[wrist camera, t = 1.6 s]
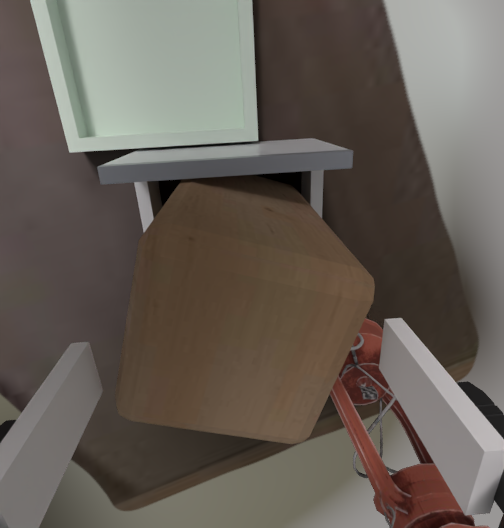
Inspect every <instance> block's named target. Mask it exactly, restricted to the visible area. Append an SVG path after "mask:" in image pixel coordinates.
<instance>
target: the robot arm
mask: <svg viewBox="0 0 504 528" xmlns="http://www.w3.org/2000/svg"><path fill="white" fill-rule="evenodd" d="M379 369H380V371H381V373H382V374H383V376H384V378H385V379H386V381H387V383H388V385H389V386H390V388H391V390H392V391H393V393H394V395H395V397H396V398H397V400H398V402H399V403H400V405H401V407H402V408H403V410H404V412H405V414H406V415H407V417H408V419H409V420H410V422H411V424H412V426H413V427H414V429H415V431H416V432H417V434H418V436H419V438H420V439H421V441H422V443H423V444H424V446H425V448H426V449H427V451H428V453H429V455H430V456H431V458H432V460H433V461H434V463H435V465H436V467H437V468H438V470H439V472H440V473H441V475H442V477H443V479H444V480H445V482H446V484H447V485H448V487H449V489H450V490H451V492H452V494H453V496H454V497H455V499H456V501H457V502H458V504H459V506H460V508H461V509H462V511H463V513H464V514H465V515H475V514H485V513H490V511H491V508H492V505H493V503H494V500H495V502H496V503H497V505H498V506H499V507H500V509H501V510H502V512H503V513H504V415H503V413H502V411H501V410H500V409H499V408H498V407H497V406H495V405H494V403H493V402H492V400H491V399H490V398H489V397H488V396H487V395H486V394H485V393H484V392H483V391H482V390H480V389H479V388H477V387H475V386H474V385H473V384H471V383H470V382H458V383H456V382H455V381H454V380H453V379H452V377H451V376H450V375H449V374H448V373H447V371H446V370H445V369H444V368H443V367H442V365H441V364H440V363H439V362H438V361H437V360H436V358H435V357H434V356H433V355H432V354H431V352H430V351H429V350H428V349H427V348H426V346H425V345H424V344H423V343H422V342H421V341H420V339H419V338H418V337H417V336H416V335H415V333H414V332H413V331H412V330H411V329H410V328H409V326H408V325H407V324H406V323H405V322H404V320H403V319H402V318H393V319H385V320H384V328H383V337H382V345H381V354H380V363H379ZM102 392H103V388H102V385H101V381H100V378H99V375H98V371H97V368H96V364H95V361H94V358H93V354H92V351H91V347H90V344H89V342H81V343H71V344H70V346H69V347H68V348H67V350H66V351H65V353H64V354H63V355H62V357H61V358H60V360H59V361H58V363H57V364H56V365H55V367H54V368H53V370H52V371H51V372H50V374H49V375H48V377H47V378H46V379H45V381H44V382H43V384H42V385H41V386H40V388H39V389H38V391H37V392H36V394H35V395H34V396H33V398H32V399H31V401H30V402H29V403H28V405H27V406H26V408H25V409H24V410H23V412H22V413H21V415H20V416H19V418H18V419H17V420H9V421H5V422H4V423H3V424H2V425H0V528H39V526H40V523H41V521H42V519H43V517H44V515H45V513H46V511H47V509H48V507H49V504H50V502H51V500H52V498H53V496H54V494H55V492H56V489H57V487H58V485H59V483H60V481H61V479H62V476H63V475H64V473H65V470H66V468H67V466H68V464H69V462H70V460H71V458H72V456H73V453H74V451H75V449H76V447H77V445H78V443H79V441H80V439H81V436H82V434H83V432H84V430H85V428H86V426H87V424H88V422H89V419H90V417H91V415H92V413H93V411H94V409H95V407H96V404H97V402H98V400H99V398H100V396H101V394H102ZM498 528H504V514H503V517H502V520H501V522H500V525H499V527H498Z"/></svg>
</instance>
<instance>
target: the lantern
mask: <svg viewBox="0 0 504 528" xmlns="http://www.w3.org/2000/svg"><path fill="white" fill-rule="evenodd" d="M382 337H383V329H382V328H381V327H380V326H379V325H378V324H377V323H376V322H374V321H371V320H369V319H366V318H365V320H364V322H363V324H362V326H361V328H360V330H359V332H358V335H357V337H356V339H355V341H354V343H353V345H352V347H351V349H350V352H349V354H348V356H347V358H346V360H345V362H344V364H343V366H342V369H341V371H340V373H339V375H338V377H337V379H336V381H335V383H334V386H333V388H332V390H331V392H330V395H331V398H332V400H333V402H334V404H335V406H336V408H337V411H338V413H339V415H340V417H341V419H342V422H343V424H344V426H345V428H346V430H347V432H348V434H349V437H350V439H351V441H352V443H353V445H354V448H355V450H356V451H355V453H354V456H353V468H354V469H355V471H356V472H357V474H358V475H359V476H361V477H364V478H369V480H370V482H371V485H372V487H373V489H374V491H375V496H374V504H375V506H376V509H377V511H379V512H380V513H381V514H383V515H384V516H385V519H386V521H387V523H388V525H389V526H390V528H490V527H488V526H475V524H474V519H473V517H472V515H465V514H464V513H463V511H462V509H461V508H460V506H459V504H458V502H457V501H456V499H455V497H454V496H453V494H452V492H451V490H450V489H449V487H448V485H447V484H446V482H445V480H444V479H443V477H442V475H441V473H440V472H439V470H438V468H437V467H436V465H435V463H434V461H433V460H432V458H431V456H430V455H429V453H428V451H427V449H426V448H425V446H424V444H423V443H422V441H421V439H420V438H419V436H418V434H417V432H416V431H415V429H414V427H413V426H412V424H411V422H410V420H409V419H408V417H407V415H406V414H405V412H404V410H403V408H402V407H401V405H400V403H399V402H398V400H397V398H396V397H395V395H394V393H393V391H392V390H391V388H390V386H389V385H388V383H387V381H386V379H385V378H384V376H383V374H382V373H381V371H380V369H379V363H380V354H381V345H382ZM379 399H380V415H379V416H378V418H377V419H376V420H375V421H374V422H373V424H372V425H371V426H370V428H369V429H368V430H366V428H365V426H364V424H363V422H362V420H361V418H360V416H359V415H358V413H357V411H356V409H355V407H354V405H366V404H370V403H373V402H376V401H377V400H379ZM382 400H383V401H384V402H385V404H386V405H387V406H386V408H385V409H384V410H383V411H382ZM389 408H390V410H391V411H392V412H393V413H394V415H395V416H396V418H397V419H398V420H399V422H400V423H401V425H402V427H403V428H404V430H405V432H406V434H407V436H408V438H409V440H410V442H411V444H412V446H413V448H414V450H415V453H416V455H417V457H418V459H419V461H420V463H421V464H417V465H414V466H411V467H407V468H403V469H401V470H399V471H395V470H392V469H389V468H388V467H386V466H385V465H384V463H383V461H382V417H383V416H384V415H385V413H386V412H387V411H388V410H389ZM379 421H380V445H381V446H380V455H379V453H378V451H377V450H376V447H375V445H374V444H373V442H372V440H371V438H370V436H369V433H370V432H371V431H372V430H373V428H374V427H375V426H376V425H377V423H378V422H379ZM357 454H358V456H359V458H360V461H361V463H362V465H363V467H364V469H365V472H366V475H365V474H362V473H360V472H358V470H357V469H356V467H355V459H356V456H357ZM387 470H388V471H390V472H392V473H394V474H392V475H389V473H388V471H387ZM388 519H389V520H388ZM389 521H390V522H389Z"/></svg>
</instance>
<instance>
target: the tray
mask: <svg viewBox="0 0 504 528" xmlns="http://www.w3.org/2000/svg"><path fill="white" fill-rule="evenodd" d="M30 1H31V5H32V9H33V13H34V17H35V21H36V25H37V28H38V32H39V36H40V40H41V44H42V48H43V52H44V56H45V59H46V63H47V67H48V71H49V75H50V79H51V83H52V86H53V90H54V94H55V98H56V102H57V106H58V110H59V114H60V117H61V121H62V125H63V129H64V133H65V137H66V141H67V144H68V148H69V152H86V151H102V150H118V149H134V148H151V147H167V146H183V145H199V144H216V143H232V142H248V141H258V122H257V99H256V76H255V53H254V30H253V7H252V0H30Z"/></svg>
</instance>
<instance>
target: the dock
mask: <svg viewBox="0 0 504 528" xmlns="http://www.w3.org/2000/svg"><path fill="white" fill-rule="evenodd" d="M352 162H353V151H352V150H349V149H346V148H343V147H339V146H336V145H333V144H330V143H327V142H323V141H320V140H317V139H314V138H309V139H292V140H276V141H260V142H244V143H227V144H211V145H195V146H179V147H163V148H146V149H140V150H137V151H135V152H132V153H130V154H127V155H125V156H123V157H120V158H118V159H115V160H113V161H110V162H108V163H105V164H103V165H101V166H98V167H97V169H98V174H99V178H100V182H101V184H115V183H130V182H134V184H135V189H136V194H137V200H138V205H139V210H140V215H141V220H142V226H143V231H144V232H145V231H146V230H147V228H148V227H149V225H150V224H151V222H152V221H153V220H154V218H155V217H156V215H157V214H158V213H159V211H160V210H161V208H162V201H161V195H160V189H159V183H158V181H161V180H177V179H192V178H208V177H223V176H239V175H254V174H269V173H285V172H300V171H302V181H301V195H302V196H303V197H304V198H305V200H306V201H307V202H308V203H309V204H310V205H311V207H312V208H313V209H314V210H315V211H316V212H317V213H318V215H319V216H320V217H321V218H322V204H323V171H324V170H331V169H347V168H352Z"/></svg>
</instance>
